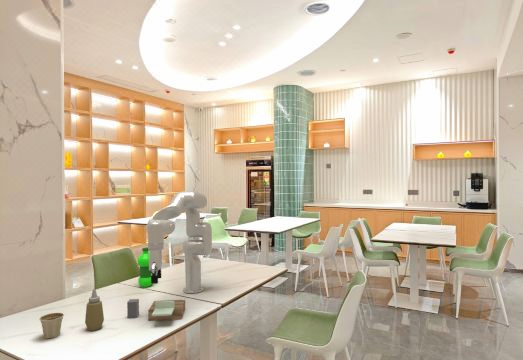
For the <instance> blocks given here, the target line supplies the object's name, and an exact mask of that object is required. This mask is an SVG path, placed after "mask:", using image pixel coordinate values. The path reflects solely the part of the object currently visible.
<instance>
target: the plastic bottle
mask: <svg viewBox="0 0 523 360" xmlns="http://www.w3.org/2000/svg"><path fill="white" fill-rule="evenodd" d="M141 249H142V250H141V251H142V252H143V253H142V254H141V255H139V257H138V258H137V260H136V261H137V265H138V266H139V276H138V280H137V283H138V284H139V285H140V287H142V288H149V287H151V286H152V285H153V284H151V272H152V270H151V271H149V254H150V251H149V250H148V246H147V247H142V248H141Z"/></svg>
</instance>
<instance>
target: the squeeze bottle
mask: <svg viewBox="0 0 523 360" xmlns="http://www.w3.org/2000/svg"><path fill="white" fill-rule="evenodd" d="M96 290H97V289H95V288H94V289H92V293H91V296H90V297H89V298H88V302H87V303H86V309H85V317H84V318H85V320H84V323H85V326H86V328H87V330H88V331H97V330H100V329H102V327H103V324H104V321H105V317H104V308H103V302H102V300H101V297H100V295H98V294H97V291H96Z"/></svg>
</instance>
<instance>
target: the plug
mask: <svg viewBox="0 0 523 360" xmlns="http://www.w3.org/2000/svg"><path fill="white" fill-rule="evenodd" d="M126 305H127V310H126V314H127V319H137V318H138V317H139V315H140V299H139V298H133V299H132V298H130V299H129V300H127V304H126Z"/></svg>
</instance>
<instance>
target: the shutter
mask: <svg viewBox="0 0 523 360" xmlns="http://www.w3.org/2000/svg"><path fill="white" fill-rule="evenodd" d="M157 301H158V302H155V310H154V312H153V313H152V316H168V315H172V313H173V311H174V301H164V300H157Z"/></svg>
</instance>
